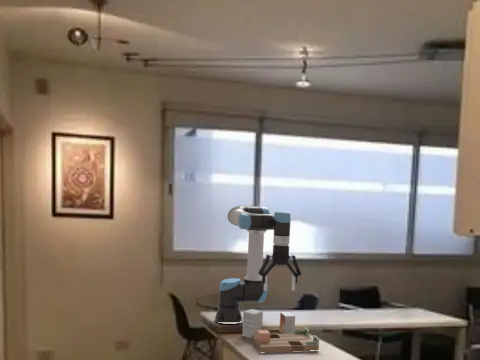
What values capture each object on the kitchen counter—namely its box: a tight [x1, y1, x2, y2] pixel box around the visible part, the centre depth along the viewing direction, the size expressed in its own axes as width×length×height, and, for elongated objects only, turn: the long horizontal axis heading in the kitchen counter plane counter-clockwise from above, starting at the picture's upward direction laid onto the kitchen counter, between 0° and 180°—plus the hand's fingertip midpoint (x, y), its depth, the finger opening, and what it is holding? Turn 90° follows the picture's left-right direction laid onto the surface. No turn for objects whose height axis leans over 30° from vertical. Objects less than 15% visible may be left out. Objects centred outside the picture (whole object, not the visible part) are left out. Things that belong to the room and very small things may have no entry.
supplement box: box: [242, 308, 264, 340], centre depth 249 cm, size 7×7×13 cm
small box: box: [278, 311, 296, 334], centre depth 255 cm, size 8×6×10 cm
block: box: [257, 329, 271, 342], centre depth 234 cm, size 5×5×4 cm
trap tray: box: [251, 327, 320, 353], centre depth 236 cm, size 18×28×6 cm, turn 102°
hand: (279, 290), depth 229 cm, fingers open, 13 cm apart
